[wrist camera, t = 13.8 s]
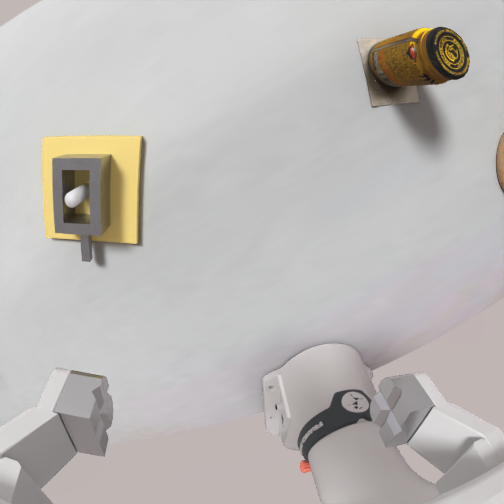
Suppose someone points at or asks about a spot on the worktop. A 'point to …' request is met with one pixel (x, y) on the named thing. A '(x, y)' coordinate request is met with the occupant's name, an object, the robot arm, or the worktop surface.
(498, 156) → the candle holder
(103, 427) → the robot arm
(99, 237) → the keeper
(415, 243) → the worktop surface
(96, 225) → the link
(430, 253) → the worktop surface
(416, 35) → the condiment
